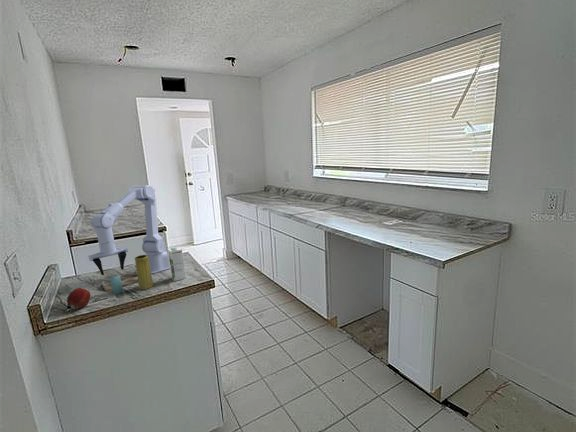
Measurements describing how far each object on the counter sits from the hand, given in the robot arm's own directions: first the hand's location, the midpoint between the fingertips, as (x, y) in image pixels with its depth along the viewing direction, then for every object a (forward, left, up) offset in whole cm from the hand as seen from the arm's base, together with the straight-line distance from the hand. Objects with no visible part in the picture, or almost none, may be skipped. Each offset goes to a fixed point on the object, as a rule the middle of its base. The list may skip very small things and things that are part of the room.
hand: (112, 271), depth 130 cm
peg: (0, +1, -10) cm, 10 cm away
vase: (-11, +5, -10) cm, 16 cm away
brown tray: (-4, -9, -9) cm, 14 cm away
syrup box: (-25, +7, -10) cm, 28 cm away
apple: (+14, +5, -10) cm, 17 cm away
